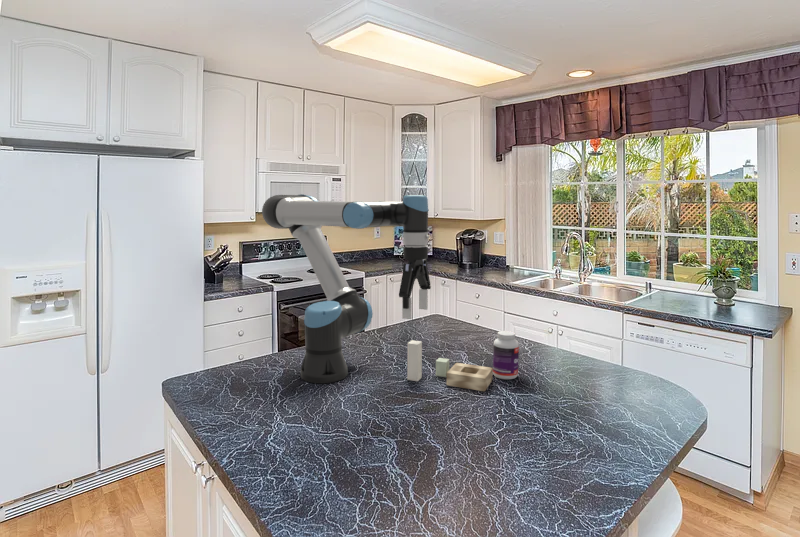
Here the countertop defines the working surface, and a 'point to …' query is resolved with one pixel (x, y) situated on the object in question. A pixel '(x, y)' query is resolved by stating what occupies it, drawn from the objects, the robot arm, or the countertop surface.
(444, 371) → the short peg
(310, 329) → the robot arm
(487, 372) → the hole block
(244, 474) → the countertop surface
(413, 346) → the long peg
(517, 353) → the pill bottle
